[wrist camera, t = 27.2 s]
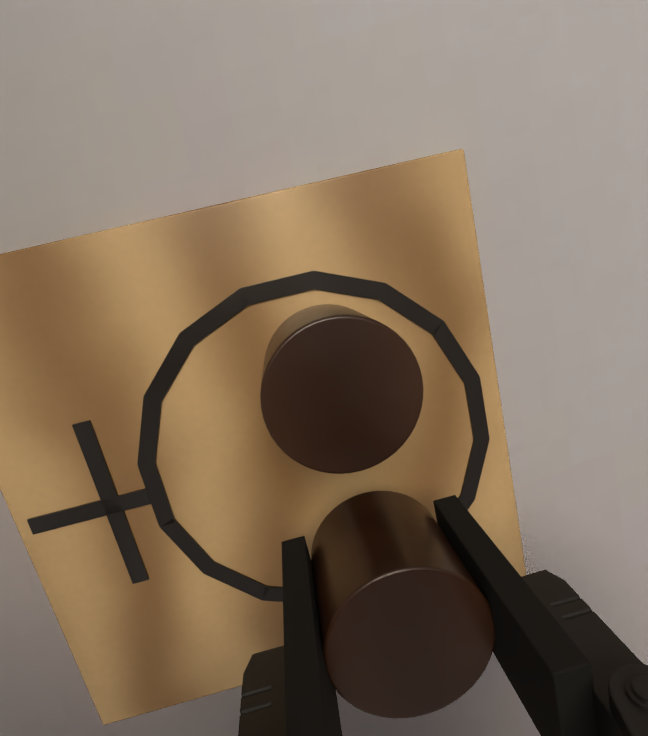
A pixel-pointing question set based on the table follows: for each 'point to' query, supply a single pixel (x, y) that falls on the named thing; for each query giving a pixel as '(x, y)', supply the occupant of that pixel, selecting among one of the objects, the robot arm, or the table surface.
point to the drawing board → (227, 413)
